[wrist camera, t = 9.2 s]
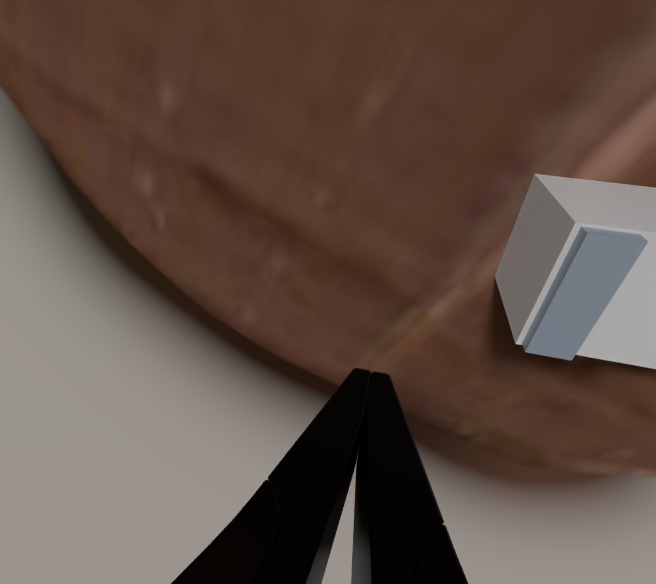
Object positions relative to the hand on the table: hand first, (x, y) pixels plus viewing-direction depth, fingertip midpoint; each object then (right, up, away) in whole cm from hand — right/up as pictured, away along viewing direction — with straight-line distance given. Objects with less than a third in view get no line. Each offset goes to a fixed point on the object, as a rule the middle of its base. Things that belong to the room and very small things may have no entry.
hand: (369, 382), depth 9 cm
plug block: (+10, +4, +7) cm, 13 cm away
